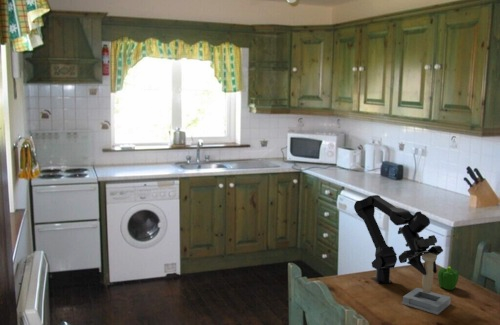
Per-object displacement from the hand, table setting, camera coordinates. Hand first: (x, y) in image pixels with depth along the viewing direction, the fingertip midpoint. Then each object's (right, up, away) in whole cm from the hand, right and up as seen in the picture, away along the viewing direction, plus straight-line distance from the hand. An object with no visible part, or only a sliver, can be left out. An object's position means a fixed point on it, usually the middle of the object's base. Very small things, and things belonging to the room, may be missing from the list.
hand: (430, 273), depth 197 cm
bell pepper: (+14, -11, +20) cm, 27 cm away
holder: (-1, -13, +3) cm, 13 cm away
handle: (-1, -8, +2) cm, 8 cm away
